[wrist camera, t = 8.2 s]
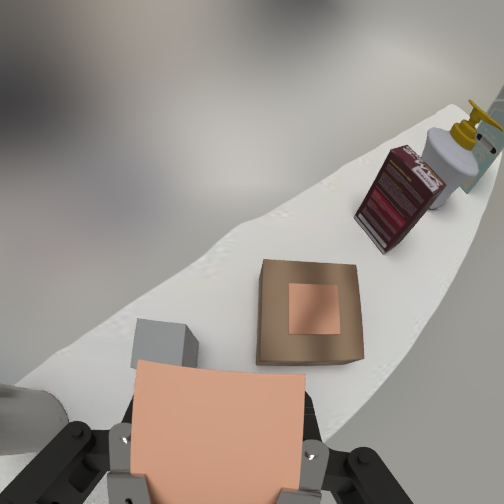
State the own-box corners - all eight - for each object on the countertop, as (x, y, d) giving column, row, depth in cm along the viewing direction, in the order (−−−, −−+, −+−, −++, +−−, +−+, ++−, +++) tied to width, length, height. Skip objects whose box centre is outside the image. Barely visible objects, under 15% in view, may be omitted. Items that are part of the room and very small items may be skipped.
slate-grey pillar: (157, 374, 31) (130, 367, 22) (161, 337, 34) (137, 318, 25) (195, 379, 31) (180, 375, 23) (198, 341, 34) (185, 324, 25)
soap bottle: (438, 229, 45) (509, 144, 24) (391, 190, 49) (447, 92, 27) (449, 197, 50) (504, 122, 29) (408, 164, 54) (454, 81, 32)
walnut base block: (256, 364, 33) (260, 360, 27) (259, 278, 39) (263, 258, 33) (345, 364, 33) (364, 358, 28) (340, 282, 39) (356, 264, 33)
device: (461, 157, 60) (505, 84, 34) (478, 174, 58) (526, 104, 31) (446, 173, 55) (501, 86, 29) (466, 194, 52) (527, 110, 26)
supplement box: (399, 243, 43) (449, 185, 29) (383, 255, 42) (434, 195, 28) (369, 207, 46) (407, 142, 32) (351, 216, 45) (389, 148, 31)
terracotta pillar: (183, 447, 14) (131, 501, 5) (188, 376, 16) (137, 359, 7) (262, 453, 14) (295, 517, 5) (266, 382, 16) (305, 374, 7)
